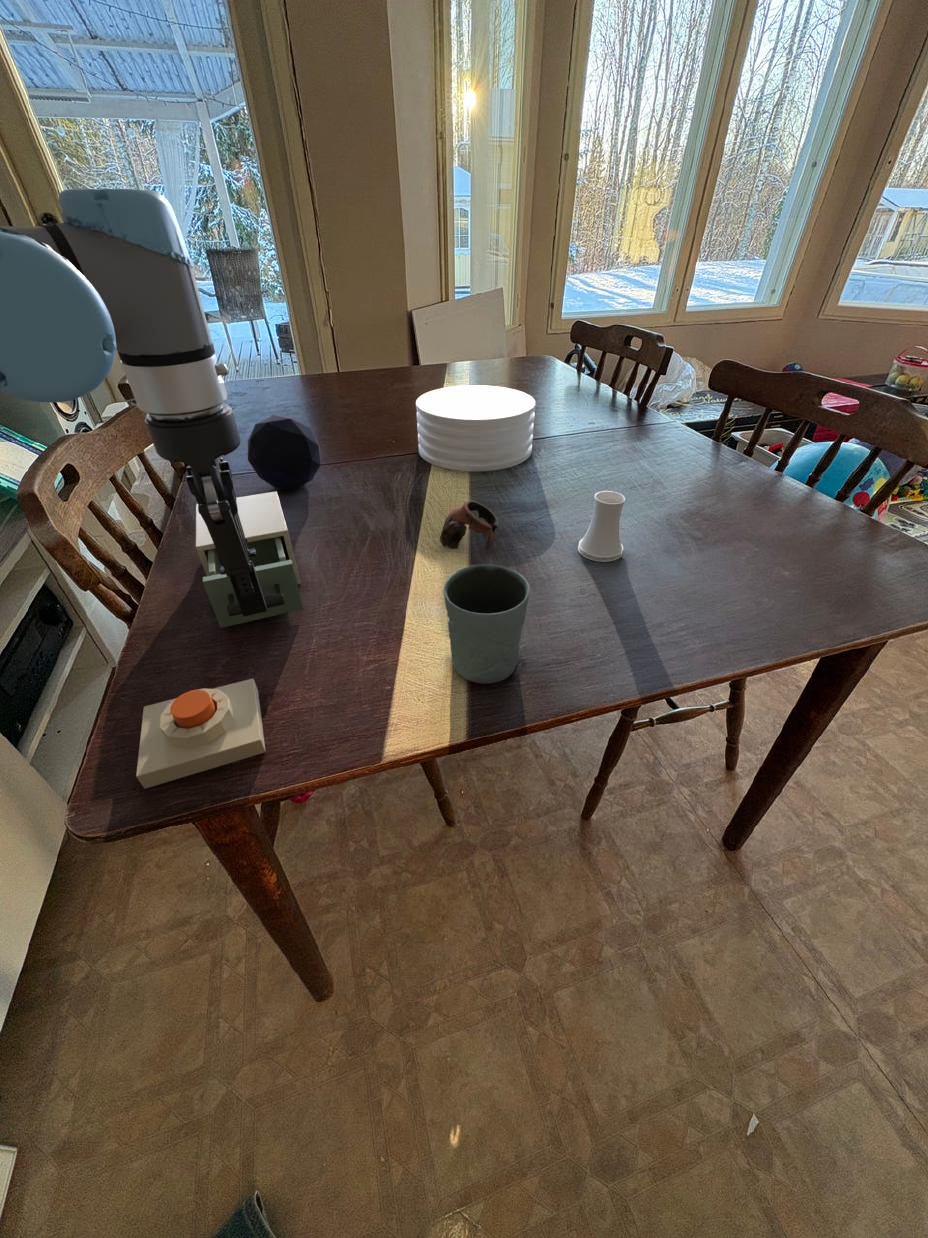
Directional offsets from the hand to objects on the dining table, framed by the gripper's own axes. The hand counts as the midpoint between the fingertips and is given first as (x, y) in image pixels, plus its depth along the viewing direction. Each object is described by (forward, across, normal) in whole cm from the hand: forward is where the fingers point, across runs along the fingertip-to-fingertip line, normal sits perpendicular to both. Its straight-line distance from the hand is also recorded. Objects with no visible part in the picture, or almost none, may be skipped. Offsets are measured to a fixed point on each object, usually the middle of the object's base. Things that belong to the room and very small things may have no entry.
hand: (254, 610), depth 62 cm
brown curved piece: (+9, +18, -35) cm, 40 cm away
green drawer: (+8, +14, 0) cm, 16 cm away
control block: (+9, -10, +8) cm, 15 cm away
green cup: (+9, -10, -26) cm, 29 cm away
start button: (+5, -10, +8) cm, 14 cm away
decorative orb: (+9, +56, -10) cm, 58 cm away
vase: (+9, +8, -56) cm, 57 cm away
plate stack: (+9, +60, -55) cm, 82 cm away
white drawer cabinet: (+9, +24, 0) cm, 26 cm away
